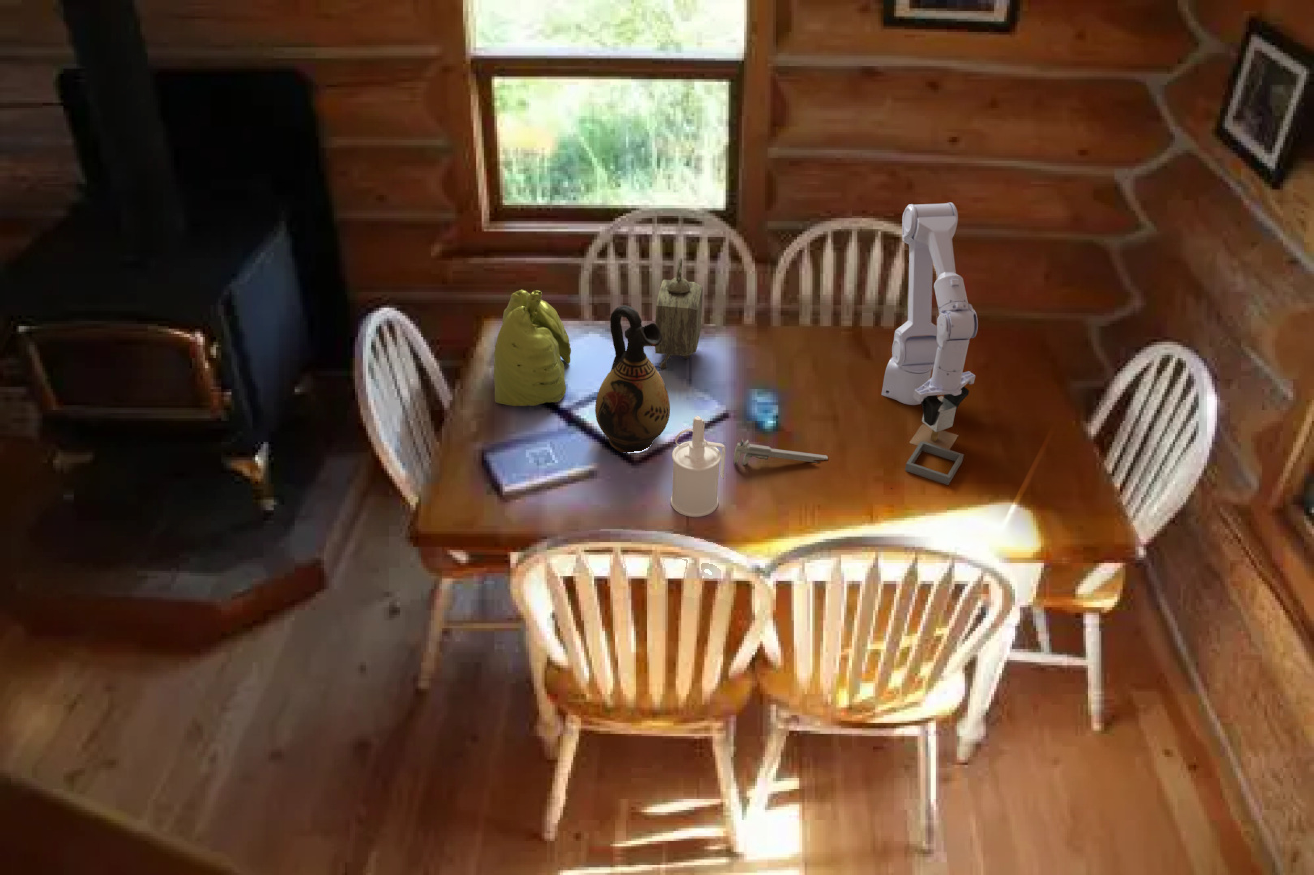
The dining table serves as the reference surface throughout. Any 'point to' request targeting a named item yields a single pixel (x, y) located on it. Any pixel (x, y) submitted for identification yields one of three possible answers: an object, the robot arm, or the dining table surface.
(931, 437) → the stud plate
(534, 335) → the lungs
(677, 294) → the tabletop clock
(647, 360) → the ceramic jug
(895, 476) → the dining table surface
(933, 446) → the bin
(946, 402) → the grey block
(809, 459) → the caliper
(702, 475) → the white cylinder with rod
